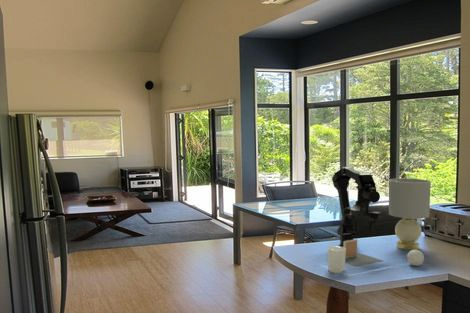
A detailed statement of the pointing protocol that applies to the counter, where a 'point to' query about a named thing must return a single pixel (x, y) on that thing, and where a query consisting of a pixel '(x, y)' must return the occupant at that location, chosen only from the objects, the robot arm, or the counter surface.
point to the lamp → (409, 209)
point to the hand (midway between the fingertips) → (362, 230)
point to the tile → (350, 248)
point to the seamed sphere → (415, 257)
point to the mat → (361, 260)
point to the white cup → (336, 259)
